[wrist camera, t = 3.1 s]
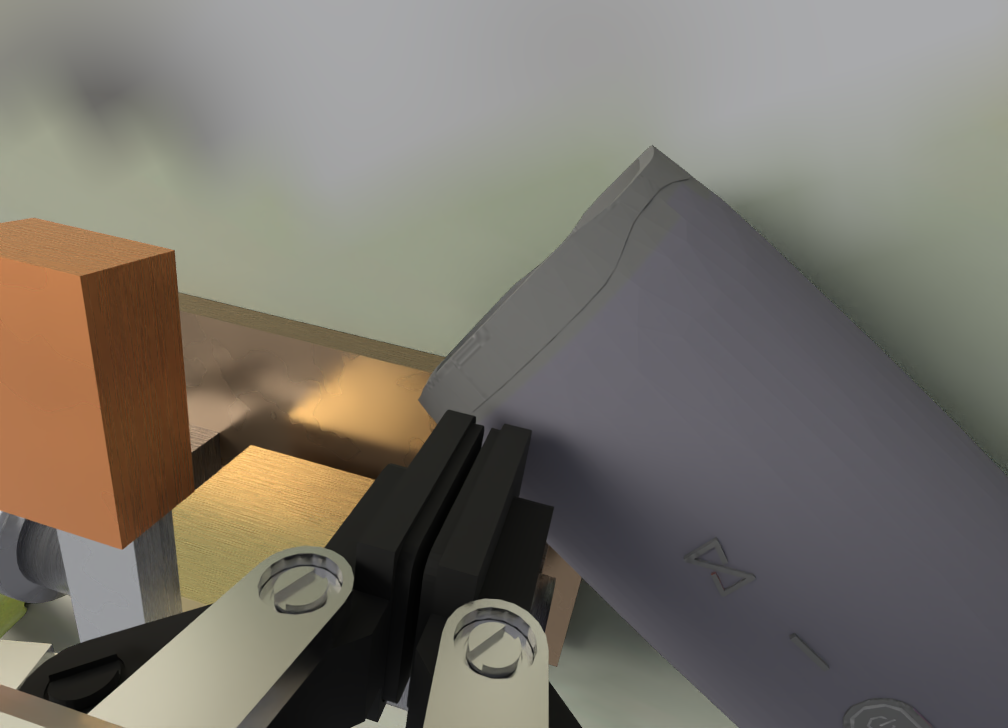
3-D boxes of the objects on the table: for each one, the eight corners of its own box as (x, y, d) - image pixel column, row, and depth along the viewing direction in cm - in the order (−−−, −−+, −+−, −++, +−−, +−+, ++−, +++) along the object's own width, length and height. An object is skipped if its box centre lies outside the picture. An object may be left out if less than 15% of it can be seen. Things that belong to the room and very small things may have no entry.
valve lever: (218, 770, 16) (168, 845, 14) (127, 736, 16) (69, 805, 15) (174, 250, 10) (80, 276, 8) (34, 218, 10) (-83, 236, 9)
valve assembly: (626, 401, 21) (603, 642, 11) (562, 638, 26) (507, 945, 16) (139, 283, 24) (-207, 393, 14) (165, 515, 29) (-79, 714, 19)
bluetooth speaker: (469, 329, 21) (331, 481, 12) (667, 123, 17) (677, 125, 8) (883, 724, 23) (1023, 1099, 14) (1145, 622, 19) (1565, 1054, 10)
